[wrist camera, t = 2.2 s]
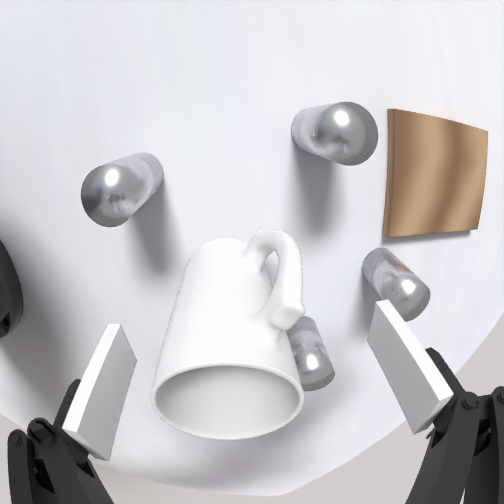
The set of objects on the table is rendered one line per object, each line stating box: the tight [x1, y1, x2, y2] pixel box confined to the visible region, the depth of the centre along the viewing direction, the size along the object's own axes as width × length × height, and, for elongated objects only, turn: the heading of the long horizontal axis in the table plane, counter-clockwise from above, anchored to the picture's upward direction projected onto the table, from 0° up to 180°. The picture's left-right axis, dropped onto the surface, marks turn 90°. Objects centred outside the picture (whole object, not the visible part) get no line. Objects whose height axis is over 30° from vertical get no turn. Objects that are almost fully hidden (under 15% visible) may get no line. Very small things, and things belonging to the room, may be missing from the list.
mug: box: [151, 229, 305, 440], centre depth 15 cm, size 10×7×12 cm, turn 150°
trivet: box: [382, 109, 488, 237], centre depth 18 cm, size 12×10×1 cm
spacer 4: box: [362, 248, 430, 322], centre depth 19 cm, size 3×3×6 cm
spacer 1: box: [81, 153, 164, 227], centre depth 15 cm, size 3×3×6 cm
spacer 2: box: [291, 102, 378, 166], centre depth 14 cm, size 3×3×6 cm
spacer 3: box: [286, 316, 335, 391], centre depth 22 cm, size 3×3×6 cm
